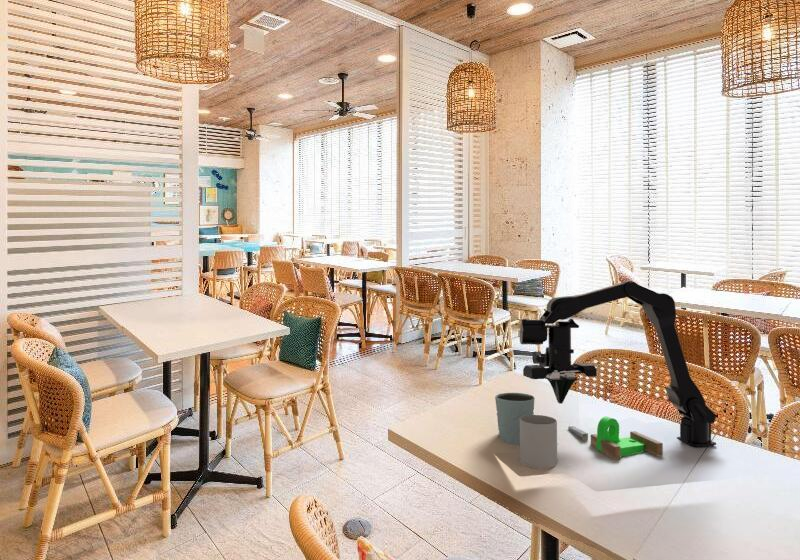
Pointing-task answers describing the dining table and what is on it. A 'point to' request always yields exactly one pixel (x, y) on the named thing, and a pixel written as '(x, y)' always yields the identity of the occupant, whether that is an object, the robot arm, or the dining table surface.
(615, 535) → the dining table surface
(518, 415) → the teal tapered tumbler
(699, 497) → the dining table surface
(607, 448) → the beam rails
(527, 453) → the cup
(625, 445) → the mechanical part
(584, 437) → the u-shaped bracket
